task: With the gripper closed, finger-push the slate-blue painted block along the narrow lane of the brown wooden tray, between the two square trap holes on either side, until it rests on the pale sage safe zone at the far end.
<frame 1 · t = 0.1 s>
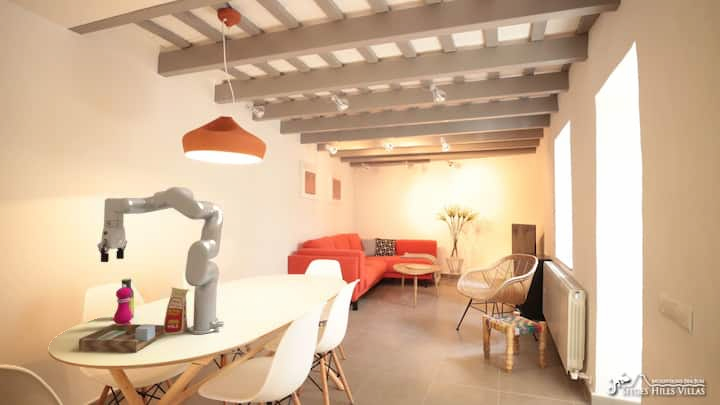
hand: (112, 260, 160), 31 cm above the table, tool pointing down, fingers open, 9 cm apart
brown wooden tray: (125, 342, 142), on the table
paper food bag: (176, 330, 157), on the table
pepper mill: (122, 327, 159), on the table
block: (145, 338, 141), point 2 cm above the table, touching brown wooden tray
sauce bottle: (126, 318, 172), on the table
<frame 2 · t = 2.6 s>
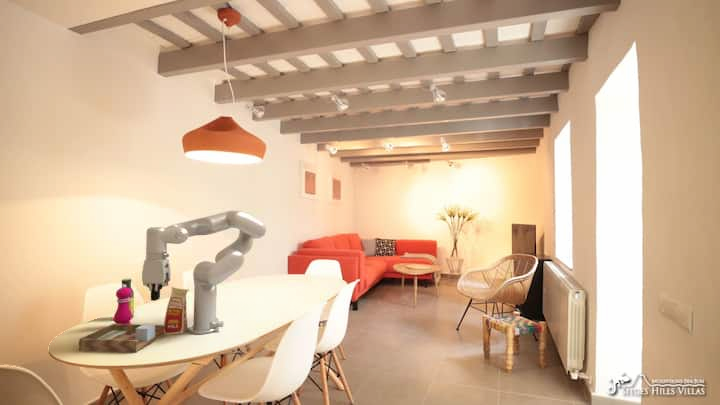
hand: (155, 299, 144), 18 cm above the table, tool pointing down, fingers closed
nothing on the table moved.
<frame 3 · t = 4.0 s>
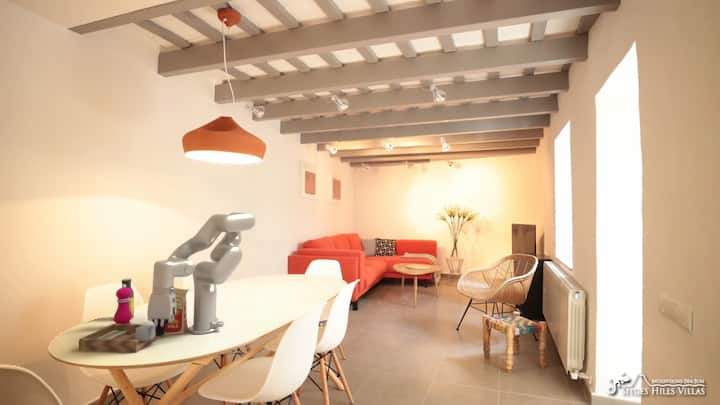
hand: (160, 335, 141), 4 cm above the table, tool pointing down, fingers closed
nothing on the table moved.
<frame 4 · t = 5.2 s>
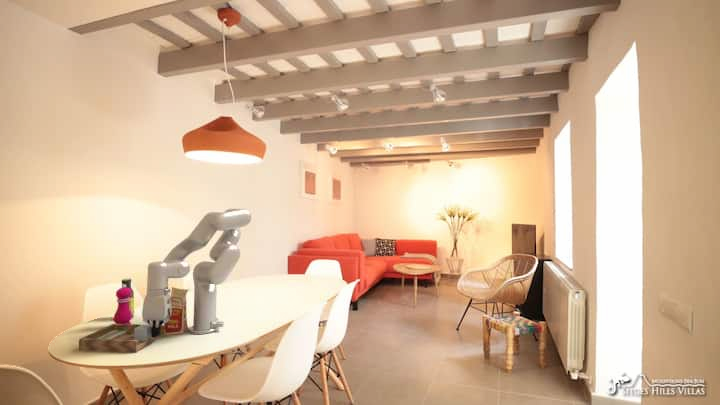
hand: (155, 336, 141), 3 cm above the table, tool pointing down, fingers closed
block: (144, 338, 141), point 2 cm above the table, touching brown wooden tray, gripper
everything else where it was.
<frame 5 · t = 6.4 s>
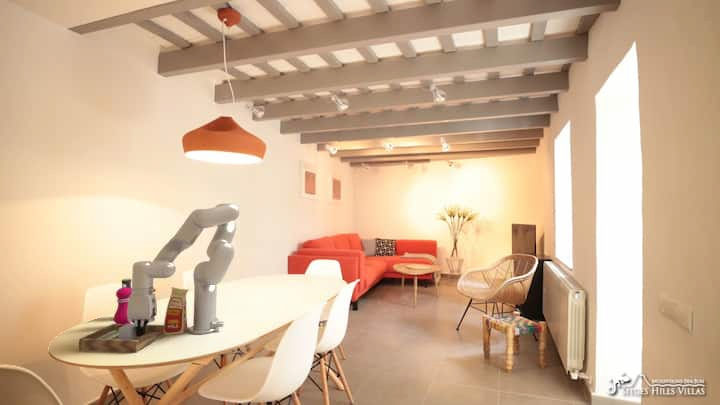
hand: (140, 335, 141), 3 cm above the table, tool pointing down, fingers closed
block: (128, 338, 141), point 2 cm above the table, touching gripper
everything else where it was.
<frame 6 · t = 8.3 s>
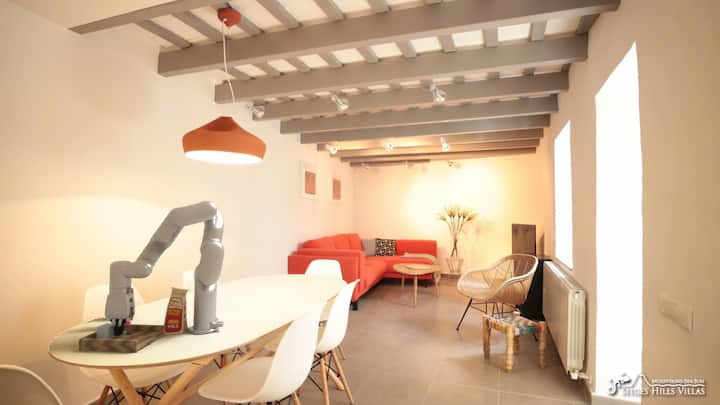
hand: (118, 334, 142), 3 cm above the table, tool pointing down, fingers closed
block: (106, 337, 142), point 2 cm above the table, touching brown wooden tray, gripper
everything else where it was.
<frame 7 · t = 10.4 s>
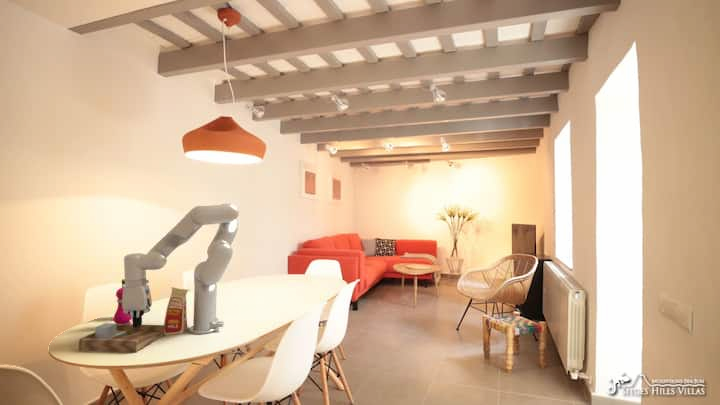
hand: (137, 326, 144), 6 cm above the table, tool pointing down, fingers closed
block: (105, 337, 142), point 2 cm above the table, touching brown wooden tray
everything else where it was.
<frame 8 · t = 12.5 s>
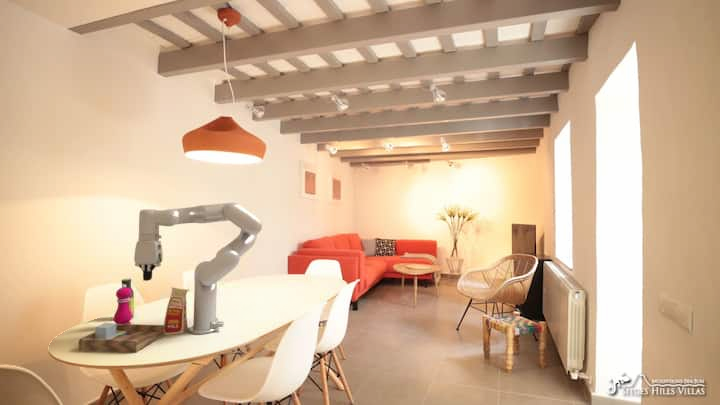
hand: (147, 279, 147), 25 cm above the table, tool pointing down, fingers closed
nothing on the table moved.
at the end: block 0.2 cm from the target spot on the brown wooden tray, point 2.0 cm above the brown wooden tray's base; block tilted 0° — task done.
